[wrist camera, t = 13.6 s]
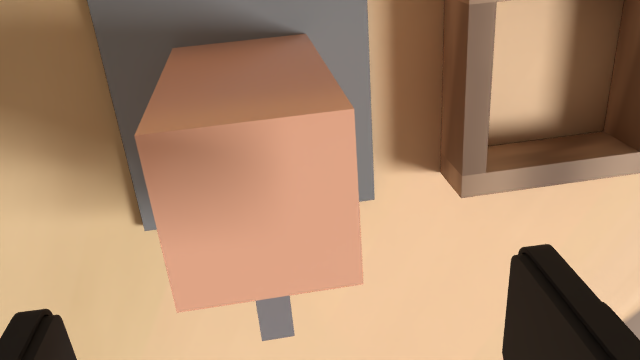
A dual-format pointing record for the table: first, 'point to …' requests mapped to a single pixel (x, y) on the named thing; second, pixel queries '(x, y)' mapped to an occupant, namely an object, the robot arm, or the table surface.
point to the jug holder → (538, 155)
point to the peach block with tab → (252, 176)
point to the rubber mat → (218, 27)
